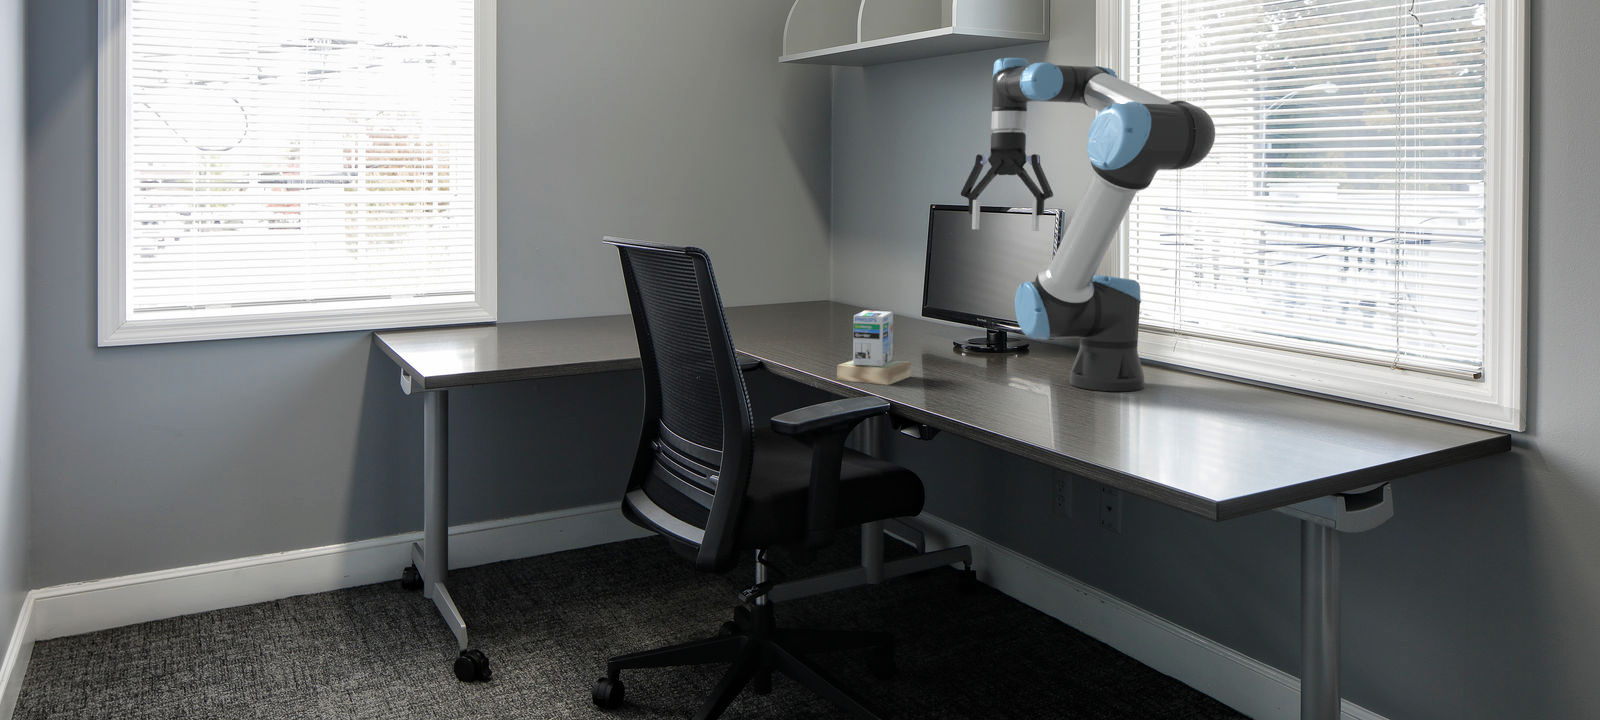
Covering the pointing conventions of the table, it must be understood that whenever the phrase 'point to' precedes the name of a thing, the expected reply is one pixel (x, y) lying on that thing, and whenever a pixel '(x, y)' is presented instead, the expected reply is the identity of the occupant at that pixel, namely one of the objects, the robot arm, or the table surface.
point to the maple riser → (874, 372)
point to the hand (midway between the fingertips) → (1004, 230)
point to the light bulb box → (873, 338)
